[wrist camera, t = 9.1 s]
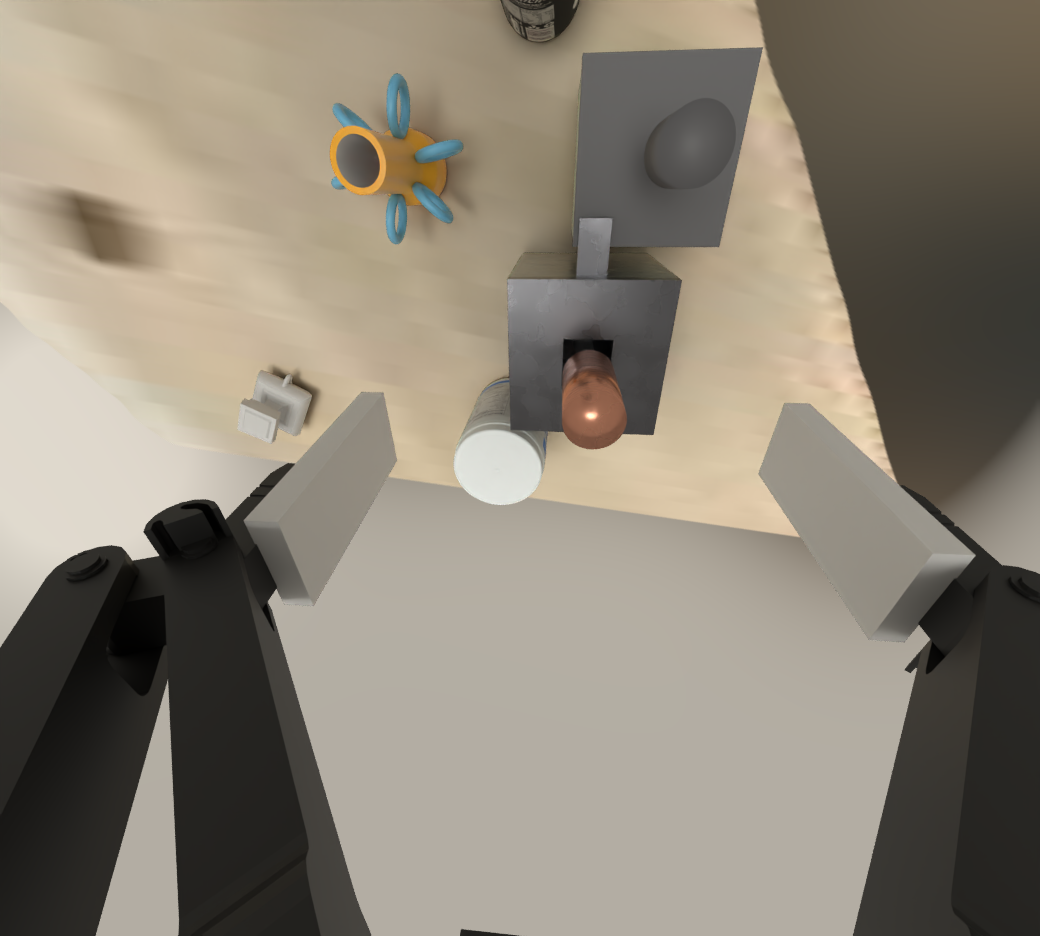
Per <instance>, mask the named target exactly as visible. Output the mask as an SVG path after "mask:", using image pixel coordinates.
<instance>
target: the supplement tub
mask: <svg viewBox="0 0 1040 936" xmlns="http://www.w3.org/2000/svg"><path fill="white" fill-rule="evenodd" d="M547 433H548V431H522V430H510V385H509V378H504V379H500V380H497V381H495V382H493V383H491V384H489V385H488V386H487V387H486V388H485V389H484V390H483V391H482V393H481V394H480V396H479V398H478V400H477V403H476V405H475V407H474V409H473V411H472V414H471V416H470V418H469V420H468V422H467V425H466V427H465V429H464V431H463V433H462V436H461V438H460V440H459V442H458V445H457V447H456V452H455V456H454V471H455V475H456V477H457V479H458V481H459V483H460V484H461V486H462V487H463V488H464V489H465V490H466V491H467V492H468V493H469V494H470V495H472V496H473V497H475V498H477V499H479V500H481V501H483V502H486V503H490V504H496V505H507V504H513V503H517V502H519V501H521V500H524V499H526V498H527V497H528V496H530V495H531V494H532V493H533V492H534V491H535V489H536V488H537V487H538V485H539V483H540V480H541V477H542V474H543V470H544V464H545V455H546V444H547Z"/></svg>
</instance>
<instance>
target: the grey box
mask: <svg viewBox="0 0 1040 936" xmlns="http://www.w3.org/2000/svg"><path fill="white" fill-rule="evenodd" d="M612 219H613V218H612V217H579V234H578V247H577V253H523V254H522V256H521V258H520V259H519V261H518V262H517V264H516V266H515V267H514V269H513V271H512V272H511V274H510V275H509V277H508V279H507V291H508V338H509V385H510V430H522V431H551V432H564V430H563V426H562V374H563V369H564V366H565V364H566V362H567V361H568V360H569V359H570V358H571V357H572V356H573V355H575V354H576V346H575V339H584V340H592V342H593V347H594V351H598V352H601V353H603V354H604V355H606V356H607V357H608V358H609V360H610V361H611V363H612V365H613V368H614V371H615V375H616V379H617V382H618V386H619V389H620V393H621V397H622V400H623V404H624V407H625V411H626V415H627V423H626V427H625V430H624V432H623V434H640V435H654V429H655V424H656V418H657V413H658V407H659V402H660V396H661V391H662V386H663V380H664V375H665V369H666V364H667V358H668V353H669V347H670V342H671V337H672V331H673V326H674V320H675V315H676V309H677V304H678V298H679V293H680V288H681V282H682V280H681V279H680V278H678V277H677V276H676V275H674V274H673V273H672V272H671V271H669V270H668V269H667V268H665V267H664V266H663V265H662V264H660V263H659V262H658V261H656V260H655V259H654V258H653V257H651V256H650V255H649V254H647V253H609V250H610V240H611V229H612Z"/></svg>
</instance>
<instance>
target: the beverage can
mask: <svg viewBox="0 0 1040 936" xmlns="http://www.w3.org/2000/svg"><path fill="white" fill-rule="evenodd" d="M501 3H502V6H503V9H504V12H505V14H506V17H507V19H508V21H509V23H510V24H511V26H512V27H513V28H514V30H515V31H516V32H517V33H518V34H519V35H521V36H522V37H524V38H525V39H527V40H530V41H534V42H544V41H548V40H551V39H553V38H555V37H556V36H558V35H559V34H560V33H561V32H562V31H563V30H564V29H565V28H566V27H567V26H568V24H569V23H570V21H571V20H572V18H573V16H574V14H575V12H576V9H577V6H578V3H579V0H501Z"/></svg>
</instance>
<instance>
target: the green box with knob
mask: <svg viewBox="0 0 1040 936" xmlns="http://www.w3.org/2000/svg"><path fill="white" fill-rule="evenodd" d="M762 49H763V47H761V48H729V49H698V50H666V51H634V52H602V53H583V56H582V74H581V80H580V86H579V93H578V113H577V132H576V152H575V172H574V191H573V211H572V230H571V232H572V237H573V244H572V246H573V247H578V234H579V217H612V218H613V219H612V229H611V240H610V247H719V245H720V240H721V236H722V231H723V227H724V222H725V218H726V213H727V208H728V204H729V199H730V195H731V190H732V186H733V181H734V177H735V172H736V167H737V163H738V158H739V154H740V149H741V145H742V140H743V135H744V131H745V126H746V122H747V117H748V113H749V108H750V103H751V99H752V94H753V90H754V85H755V81H756V76H757V71H758V67H759V62H760V58H761V53H762Z"/></svg>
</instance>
